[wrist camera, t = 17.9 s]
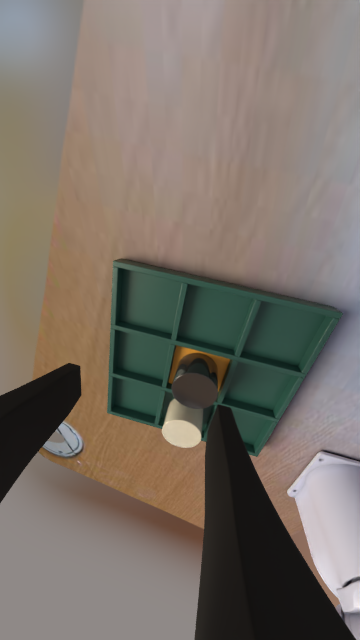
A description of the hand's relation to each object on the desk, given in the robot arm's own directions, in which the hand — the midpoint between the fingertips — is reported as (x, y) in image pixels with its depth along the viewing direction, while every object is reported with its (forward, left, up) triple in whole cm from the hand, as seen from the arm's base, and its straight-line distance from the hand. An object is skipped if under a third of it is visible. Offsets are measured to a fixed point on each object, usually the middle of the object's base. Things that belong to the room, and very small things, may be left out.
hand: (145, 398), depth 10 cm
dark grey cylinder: (-5, -3, -10) cm, 11 cm away
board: (-5, -3, -10) cm, 12 cm away
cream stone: (-11, -3, -10) cm, 15 cm away
